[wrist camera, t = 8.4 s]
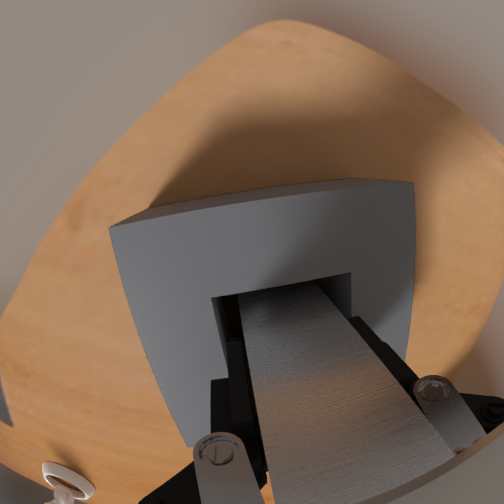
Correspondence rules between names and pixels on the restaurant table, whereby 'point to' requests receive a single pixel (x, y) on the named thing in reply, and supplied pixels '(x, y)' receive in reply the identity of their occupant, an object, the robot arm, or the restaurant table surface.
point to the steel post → (329, 403)
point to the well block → (260, 272)
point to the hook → (63, 493)
